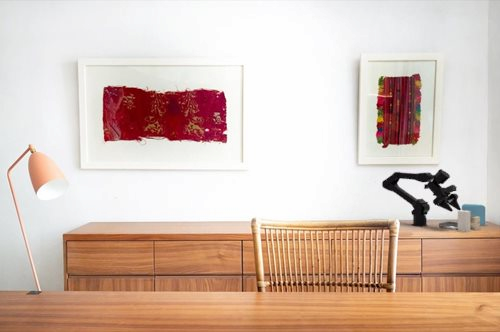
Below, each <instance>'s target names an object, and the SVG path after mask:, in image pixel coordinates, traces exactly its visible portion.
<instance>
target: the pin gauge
mask: <svg viewBox="0 0 500 332" xmlns="http://www.w3.org/2000/svg"><path fill="white" fill-rule="evenodd" d="M439 228H440V229H445V228H448V229H447V230H453V229H458V227H453V226H445V225H440V227H439Z"/></svg>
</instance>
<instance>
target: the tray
mask: <svg viewBox="0 0 500 332" xmlns="http://www.w3.org/2000/svg"><path fill="white" fill-rule="evenodd" d="M440 225H445V226H453V227H458V221H456V222H454V221H448V220H447V221H444V222H443V221H442V222H440V223H439V222H438V227H439V228H440Z"/></svg>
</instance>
